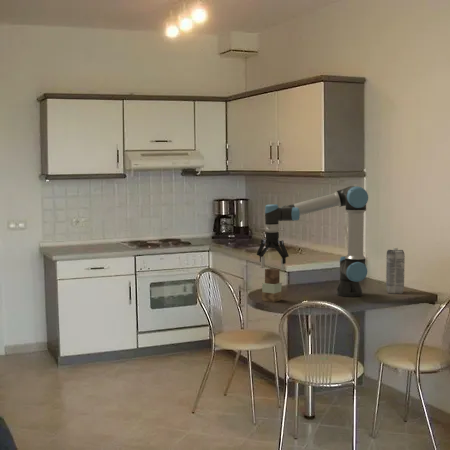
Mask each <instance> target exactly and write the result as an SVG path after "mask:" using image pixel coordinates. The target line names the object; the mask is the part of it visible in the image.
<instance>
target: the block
mask: <svg viewBox="0 0 450 450" xmlns="http://www.w3.org/2000/svg"><path fill="white" fill-rule="evenodd" d="M280 270H281V268H272V267H269V268H266V269H264V283H267V284H277V283H281V282H280V281H281V279H280V273H281V272H280Z"/></svg>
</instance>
